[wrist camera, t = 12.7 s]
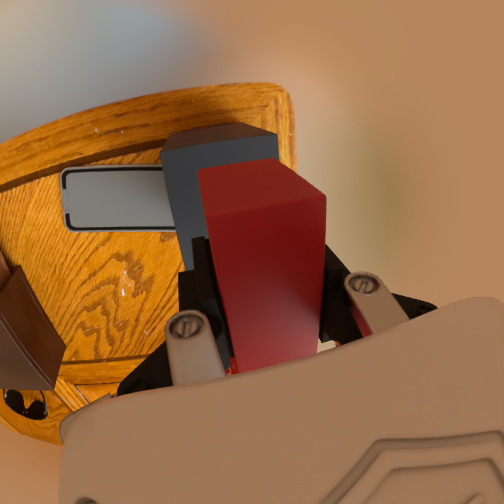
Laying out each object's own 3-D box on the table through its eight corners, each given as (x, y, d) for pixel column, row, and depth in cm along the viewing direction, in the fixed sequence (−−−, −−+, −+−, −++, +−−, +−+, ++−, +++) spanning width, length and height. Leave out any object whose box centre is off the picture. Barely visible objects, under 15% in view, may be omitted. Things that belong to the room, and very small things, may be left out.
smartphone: (195, 232, 31) (66, 233, 27) (194, 229, 31) (68, 229, 27) (199, 165, 27) (59, 168, 23) (198, 163, 28) (62, 166, 24)
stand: (170, 133, 25) (159, 152, 15) (241, 122, 26) (277, 133, 16) (185, 216, 30) (188, 281, 20) (250, 204, 31) (285, 261, 21)
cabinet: (-30, 280, 25) (-56, 315, 18) (20, 265, 27) (-8, 307, 20) (13, 350, 33) (-1, 388, 26) (66, 346, 35) (54, 390, 27)
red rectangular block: (196, 169, 10) (205, 215, 6) (274, 157, 11) (327, 195, 7) (226, 325, 14) (244, 398, 11) (283, 312, 15) (313, 380, 11)
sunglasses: (8, 390, 37) (2, 407, 33) (3, 354, 34) (-5, 371, 30) (50, 408, 41) (46, 425, 37) (49, 374, 39) (44, 393, 34)
